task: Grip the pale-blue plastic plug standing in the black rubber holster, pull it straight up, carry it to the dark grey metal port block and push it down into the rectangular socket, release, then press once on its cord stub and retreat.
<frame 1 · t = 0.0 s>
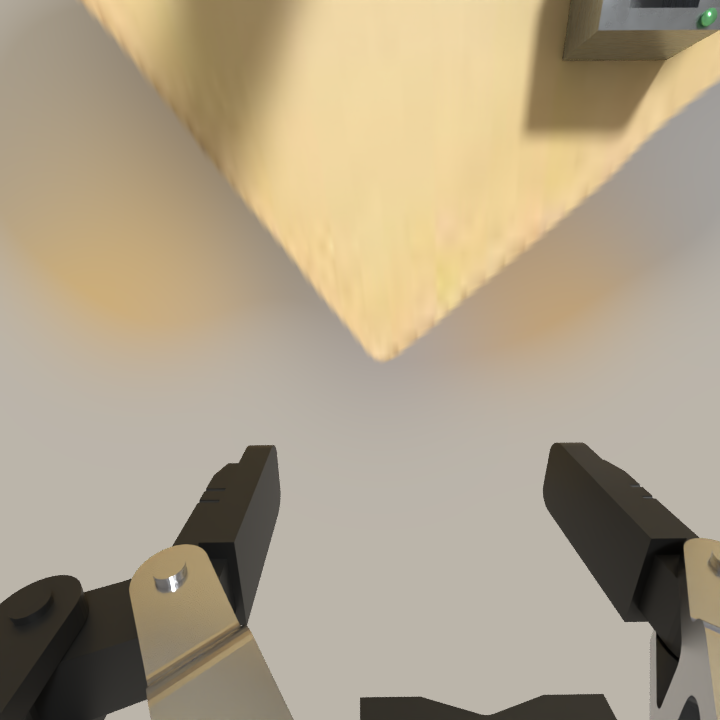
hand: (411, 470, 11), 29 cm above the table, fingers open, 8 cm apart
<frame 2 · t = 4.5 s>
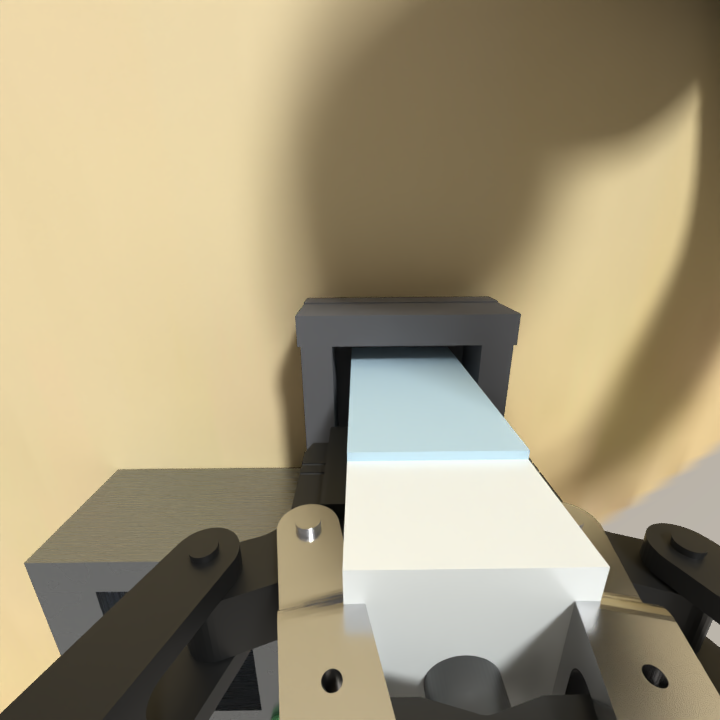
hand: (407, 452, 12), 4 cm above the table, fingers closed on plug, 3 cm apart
port: (229, 545, 18), on the table
holster: (395, 396, 16), on the table
plug: (398, 407, 15), point 1 cm above the table, touching gripper, holster
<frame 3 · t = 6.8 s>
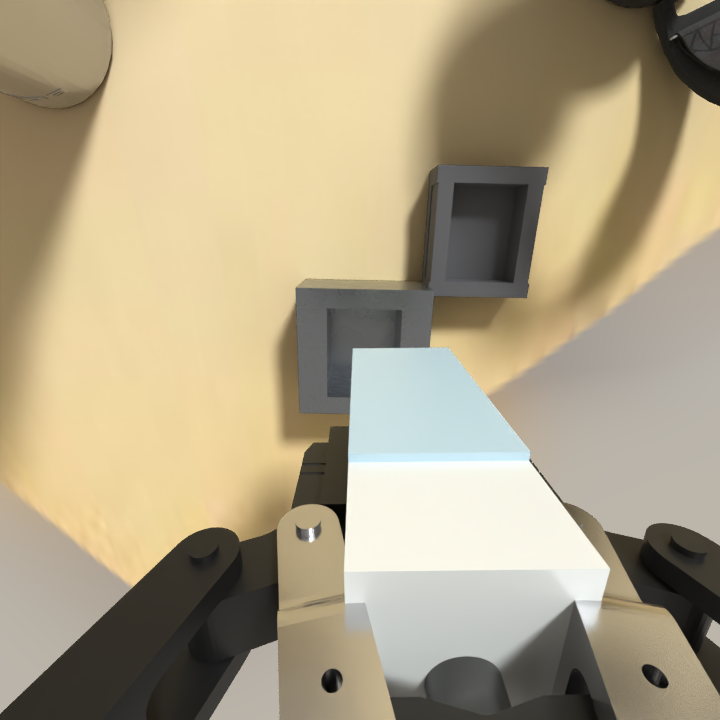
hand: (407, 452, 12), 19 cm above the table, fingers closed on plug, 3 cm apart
port: (362, 336, 30), on the table
holster: (472, 234, 28), on the table
plug: (398, 407, 15), point 16 cm above the table, touching gripper
when the fingers open (6 cm above the table, at t = 9.0 s): plug drops 1 cm, resting on port.
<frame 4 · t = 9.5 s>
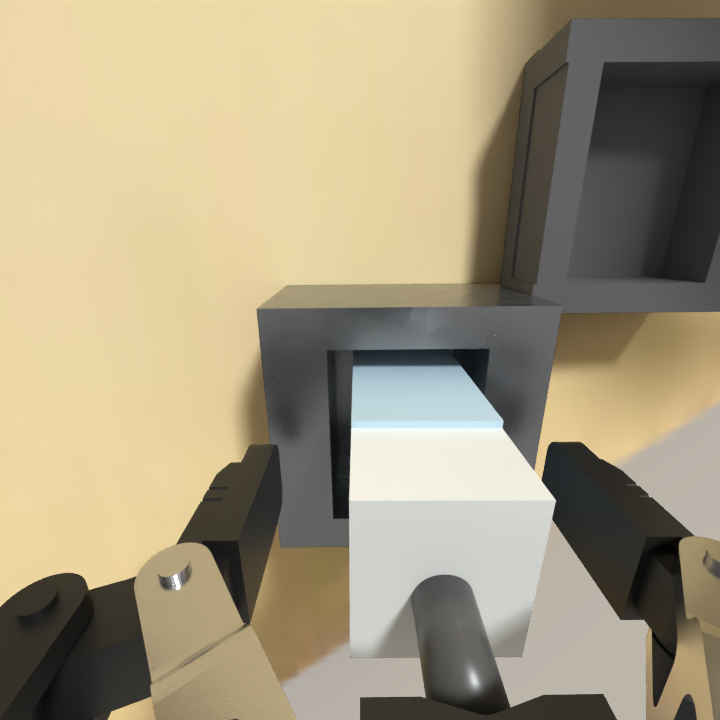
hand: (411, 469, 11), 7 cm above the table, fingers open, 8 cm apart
port: (391, 383, 17), on the table
holster: (599, 192, 14), on the table
plug: (394, 394, 16), point 1 cm above the table, touching port
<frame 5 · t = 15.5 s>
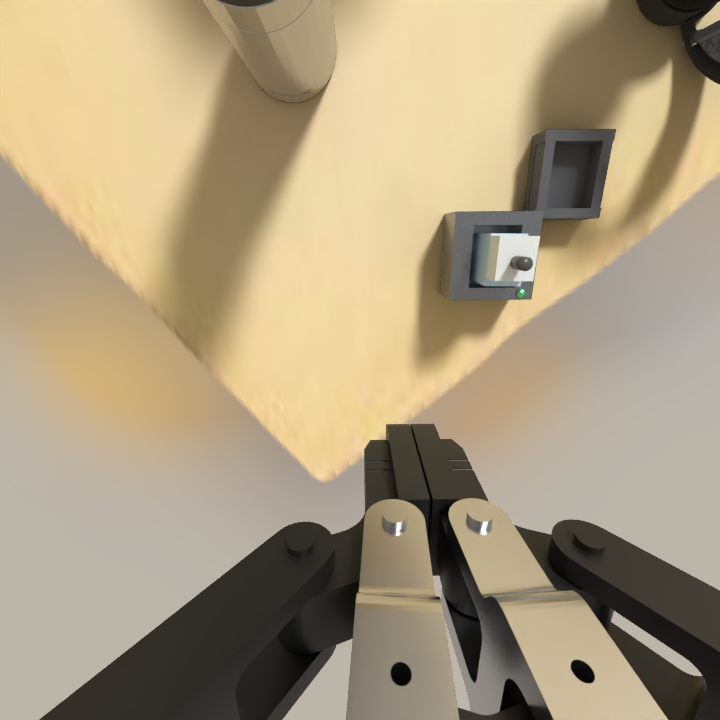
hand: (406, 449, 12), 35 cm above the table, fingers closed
port: (480, 254, 44), on the table
holster: (558, 179, 41), on the table
plug: (483, 256, 43), point 1 cm above the table, touching port
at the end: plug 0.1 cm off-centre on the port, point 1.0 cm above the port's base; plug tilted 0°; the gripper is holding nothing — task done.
